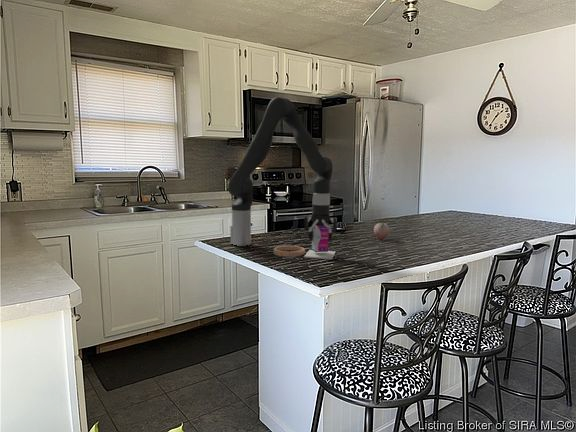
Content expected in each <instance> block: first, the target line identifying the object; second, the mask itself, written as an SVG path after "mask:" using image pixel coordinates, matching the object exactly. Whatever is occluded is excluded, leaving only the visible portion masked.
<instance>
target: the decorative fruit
mask: <svg viewBox="0 0 576 432" xmlns="http://www.w3.org/2000/svg"><path fill="white" fill-rule="evenodd" d="M373 233H374V235H375V237H376V238H378V239H379V240H384V239H385V238H387V237H389V235H390V233H391V227H390V226H389V225H388V224H387V223H385V222H383V221H382V220H381V221H380V222H378V223H376V224H375V225H374V227H373Z"/></svg>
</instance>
